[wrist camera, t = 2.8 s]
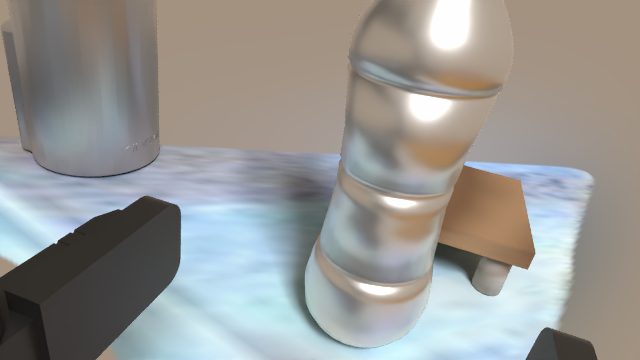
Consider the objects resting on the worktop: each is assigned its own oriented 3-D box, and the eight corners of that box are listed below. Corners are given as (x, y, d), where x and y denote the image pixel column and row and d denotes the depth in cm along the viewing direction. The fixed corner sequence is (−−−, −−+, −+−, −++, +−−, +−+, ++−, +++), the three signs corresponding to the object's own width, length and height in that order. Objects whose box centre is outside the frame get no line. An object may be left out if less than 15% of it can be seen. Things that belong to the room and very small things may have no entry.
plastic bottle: (273, 308, 24) (335, -135, 15) (353, 262, 29) (439, -98, 19) (363, 391, 20) (524, -128, 11) (438, 323, 25) (597, -84, 16)
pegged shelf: (353, 256, 29) (366, 203, 27) (381, 191, 38) (392, 146, 36) (509, 307, 27) (535, 253, 25) (501, 225, 36) (520, 180, 34)
